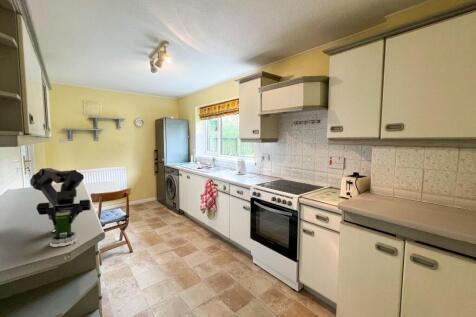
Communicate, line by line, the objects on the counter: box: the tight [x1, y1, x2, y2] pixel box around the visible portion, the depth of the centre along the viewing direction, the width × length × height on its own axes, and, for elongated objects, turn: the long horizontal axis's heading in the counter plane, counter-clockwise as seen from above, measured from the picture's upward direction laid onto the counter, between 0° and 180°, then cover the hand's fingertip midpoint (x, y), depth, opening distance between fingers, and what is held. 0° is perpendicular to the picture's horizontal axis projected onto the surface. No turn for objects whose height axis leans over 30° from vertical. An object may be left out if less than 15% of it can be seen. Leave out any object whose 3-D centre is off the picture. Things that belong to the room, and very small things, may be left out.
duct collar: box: [50, 231, 77, 244], centre depth 95 cm, size 10×10×3 cm
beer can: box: [55, 210, 72, 239], centre depth 95 cm, size 5×5×12 cm
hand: (62, 224), depth 94 cm, fingers closed on beer can, 5 cm apart
